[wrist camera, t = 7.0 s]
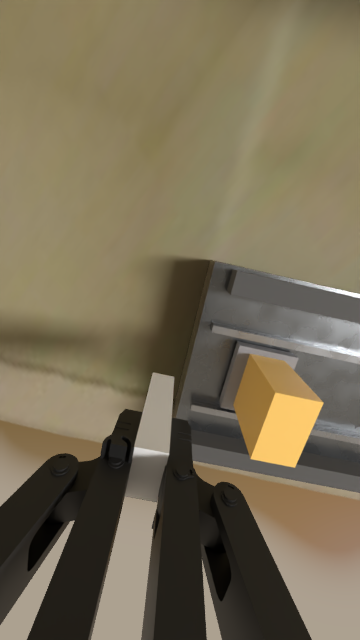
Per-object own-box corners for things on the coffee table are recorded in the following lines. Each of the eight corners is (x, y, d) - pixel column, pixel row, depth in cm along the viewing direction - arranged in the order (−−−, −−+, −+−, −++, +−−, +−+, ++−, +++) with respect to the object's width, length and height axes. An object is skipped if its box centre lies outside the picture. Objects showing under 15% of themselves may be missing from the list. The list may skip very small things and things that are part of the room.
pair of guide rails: (232, 269, 19) (237, 270, 17) (454, 319, 20) (479, 326, 18) (184, 443, 24) (184, 459, 22) (365, 479, 24) (379, 496, 23)
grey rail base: (210, 259, 23) (216, 261, 18) (425, 309, 24) (487, 323, 19) (171, 416, 28) (168, 451, 23) (351, 453, 28) (385, 493, 24)
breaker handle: (237, 340, 20) (261, 381, 14) (293, 353, 21) (343, 399, 14) (219, 400, 22) (233, 462, 16) (271, 411, 22) (306, 476, 16)
